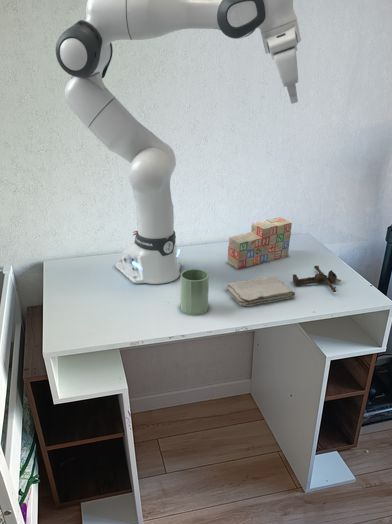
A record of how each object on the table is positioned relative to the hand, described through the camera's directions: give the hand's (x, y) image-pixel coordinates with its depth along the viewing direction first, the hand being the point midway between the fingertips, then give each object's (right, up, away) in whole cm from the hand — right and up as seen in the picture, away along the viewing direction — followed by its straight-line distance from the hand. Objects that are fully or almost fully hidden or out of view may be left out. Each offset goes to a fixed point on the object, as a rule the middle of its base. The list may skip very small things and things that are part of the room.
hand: (293, 99), depth 130 cm
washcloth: (-6, -48, +22) cm, 53 cm away
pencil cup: (-26, -52, +15) cm, 60 cm away
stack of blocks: (-4, -34, +43) cm, 55 cm away
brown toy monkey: (+12, -44, +29) cm, 54 cm away
